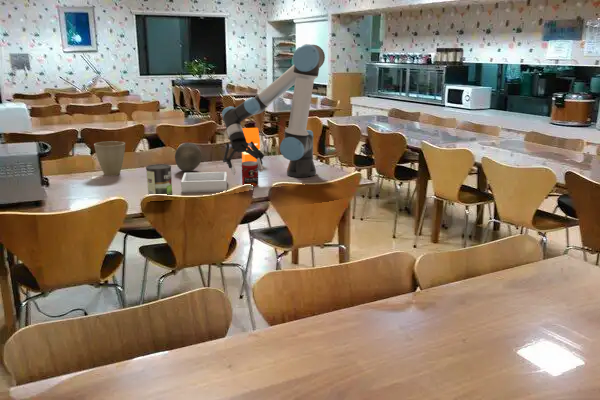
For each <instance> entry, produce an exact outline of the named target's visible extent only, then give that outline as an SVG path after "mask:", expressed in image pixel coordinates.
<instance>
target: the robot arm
mask: <svg viewBox="0 0 600 400" xmlns="http://www.w3.org/2000/svg"><path fill="white" fill-rule="evenodd" d="M325 54H326V53H325V51H324V50H323V49H322V47H321V46H319V45H317V44H307V43H306V44H302V45H299V46H298V47H297V48H295V51H294V52H293V55H292V63H293V65H292V66H290V67H289V68H288V69H287V70H285V71H284V73H282V74H281V75H280V76H279V77H278V78H276V79H275V80H274V81H273V82H272V83H270V84H269V85H267V87H266V88H265V89H263V90H262V91H261V92H260V93H258V94H257V95H256V96H255V97H250V98H248V99H246V100H245V101H243V102H241V103H240V104H238V105H237V106H236V107H234V106H227V107H225V108H224V109H223V110H222V111H221V115H222V121H223V122H224V126H225V128H226V132H227V135H228V139H229V141H230V143H228V142H227V143H226V144H225V152H224V156H223V159H222V163H226V164H227V166H228V169H231V173H232V175H233V176H235V174H236V172H237V171H236V167H235V165H234V161H233V160H232V159H233V157H235V154H236V153H242V152H246V153H248V154H250V155H251V156H253V157H254V158H255V159H257V162H258V171H259V172H260V173H262V172H263V170H264V167H263V161H262V160H263V159H264V157H265V155H264V153H263V152H262V151H261V149H260V150H259V149H258V148H257V147H256V146H255V145H254V143H253V141H251V143H247V142H246V138H245V135H244V132H243V126H242V123H243V122H244V121H245V120H247V119H249V118H250V117H252V116H255V115H259V114H262V113H263V112H264V111H266V108H268V107H269V106H270V105H271V104H273V103H274V102H275V101H276V100H277V99H279V98H280V97H282V95H284V94H285V93H286V92H287V91H288V90H289V89H290V88H292V87H293V86H294V89H293V94H292V102H291V107H290V115H289V122H288V127H287V128H286V129H284V134H283V138H282V140H281V142H280V145H279V151H280V153H281V155H282V157H283V158H284V159H286V160H288V162H289V163H288V166H287V168H286V175H287V176H290V177H294V178H309V177H308V176H311V177H314V176H313V175H315V174H316V175H317V169H316V165H315V162H314V138H315V137H314V131H312V130H310V129H307V126H308V120H309V114H310V108H311V107H310V106H311V103H312V96H313V95H312V94H313V90H314V89H313V87H314V83H315V80H316V78H318V77H319V71H320V68H321V67H322V66H323V65H324V63H325V59H326V56H325ZM248 146H249V147H248ZM250 147H251V149H252V150H251V149H250ZM230 149H233V150H232V151H231V153H230V155H229V150H230ZM246 149H247V150H246ZM228 155H229V156H228ZM227 157H228V158H227ZM316 175H315V176H316Z"/></svg>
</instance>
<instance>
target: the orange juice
mask: <svg viewBox="0 0 600 400" xmlns="http://www.w3.org/2000/svg"><path fill="white" fill-rule="evenodd" d="M242 129H243V132H244V135H245V138H246V142H247V143H251V141H253V143H254V145H255V146H256V147H257V148H258V149H259V150H260V151H261V141H260V140H261V139H260V134H259V128H258V127H242ZM248 147H249V146H248ZM250 149H251V147H250ZM246 150H247V149H246ZM251 150H252V149H251ZM245 161H255V162H257V159H255V158H254V157H253V156H251V155H250V154H248V153H246V152H241V163H242V162H245Z"/></svg>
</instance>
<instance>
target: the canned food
mask: <svg viewBox="0 0 600 400" xmlns="http://www.w3.org/2000/svg"><path fill="white" fill-rule="evenodd" d="M241 184H242V186H243V185H244V184H251V185H253V186H254V187H253V188H256V187H258V185H259V167H258V162H255V161H245V162H242V161H241Z"/></svg>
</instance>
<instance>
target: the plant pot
mask: <svg viewBox="0 0 600 400" xmlns="http://www.w3.org/2000/svg"><path fill="white" fill-rule="evenodd" d="M93 146H94V151H95V154H96V157H97V161H98V162H99V163H98V164H99V166H100V169H101V170H102V172H103V175H104V176H108V177H112V176H113V177H114V176H119V175H120V174H121V171H122V167H123V163H124V157H125V152H126V151H125V150H126V142H124V141H115V140H114V141H113V140H111V141H100V142H95V143H93Z"/></svg>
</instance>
